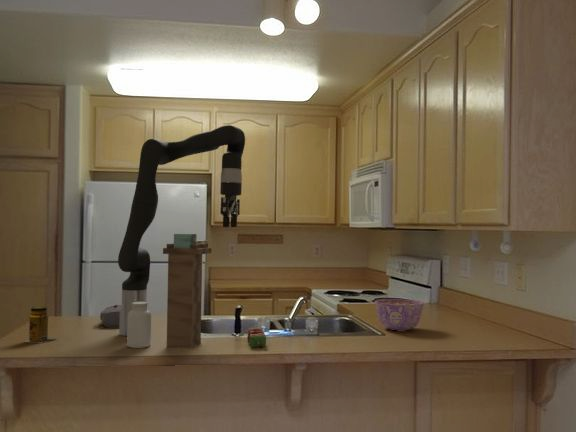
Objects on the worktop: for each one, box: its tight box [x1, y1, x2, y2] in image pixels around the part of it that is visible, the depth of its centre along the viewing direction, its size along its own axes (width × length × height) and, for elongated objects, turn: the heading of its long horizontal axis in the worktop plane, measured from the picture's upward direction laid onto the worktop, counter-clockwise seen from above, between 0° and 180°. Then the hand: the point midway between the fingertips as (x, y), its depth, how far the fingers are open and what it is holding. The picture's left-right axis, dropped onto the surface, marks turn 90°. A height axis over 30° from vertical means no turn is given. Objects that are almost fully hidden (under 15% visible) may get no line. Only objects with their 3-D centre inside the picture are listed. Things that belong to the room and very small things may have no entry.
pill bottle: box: [126, 301, 152, 349], centre depth 189 cm, size 8×8×15 cm
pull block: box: [173, 233, 209, 249], centre depth 200 cm, size 22×6×5 cm, turn 168°
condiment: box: [23, 306, 55, 344], centre depth 196 cm, size 7×8×12 cm
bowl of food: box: [374, 298, 425, 332], centre depth 227 cm, size 20×20×12 cm
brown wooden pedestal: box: [162, 242, 212, 349], centre depth 194 cm, size 13×13×36 cm
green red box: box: [246, 327, 267, 348], centre depth 195 cm, size 21×6×5 cm, turn 7°
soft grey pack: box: [99, 304, 122, 329], centre depth 232 cm, size 15×8×20 cm
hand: (229, 227), depth 195 cm, fingers open, 8 cm apart
